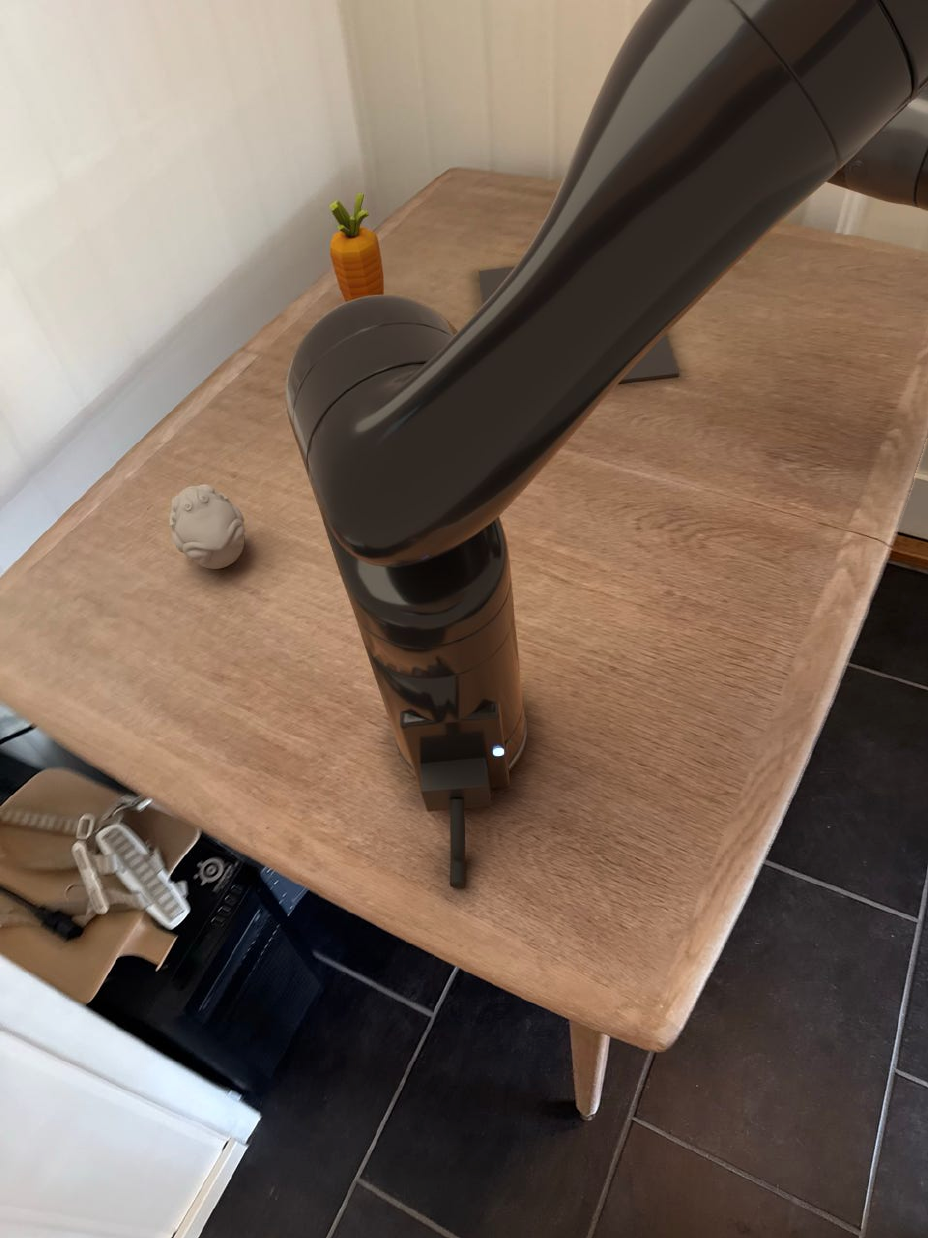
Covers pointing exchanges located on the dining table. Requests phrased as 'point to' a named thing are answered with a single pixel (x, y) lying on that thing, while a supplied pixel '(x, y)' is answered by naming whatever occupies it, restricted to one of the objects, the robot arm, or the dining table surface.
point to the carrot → (356, 254)
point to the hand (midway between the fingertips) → (688, 75)
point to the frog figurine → (207, 527)
